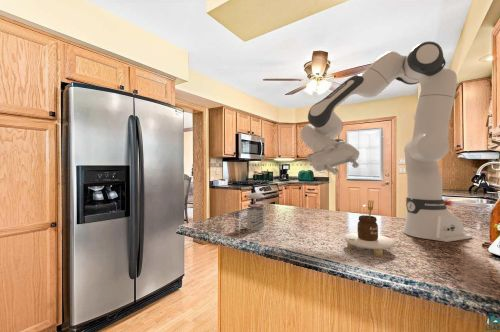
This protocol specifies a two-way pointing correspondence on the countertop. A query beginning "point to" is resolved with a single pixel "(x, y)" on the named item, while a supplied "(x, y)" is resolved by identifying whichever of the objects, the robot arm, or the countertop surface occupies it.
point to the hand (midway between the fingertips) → (347, 169)
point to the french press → (256, 212)
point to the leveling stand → (369, 243)
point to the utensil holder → (368, 226)
